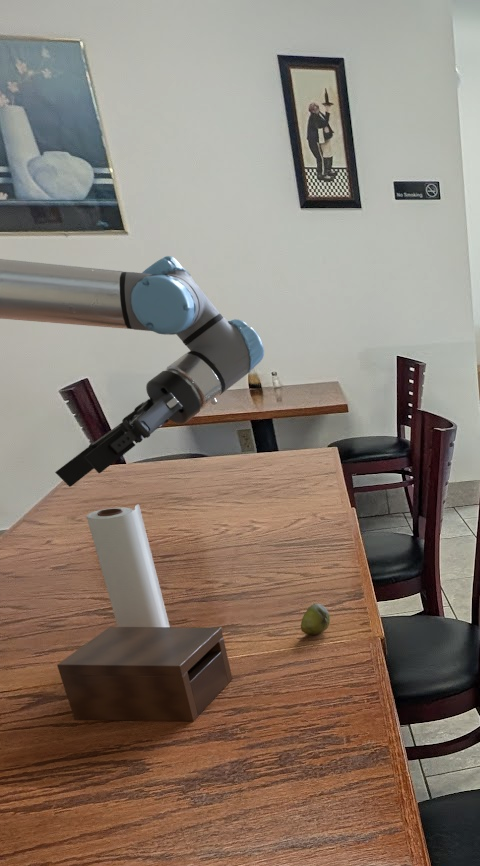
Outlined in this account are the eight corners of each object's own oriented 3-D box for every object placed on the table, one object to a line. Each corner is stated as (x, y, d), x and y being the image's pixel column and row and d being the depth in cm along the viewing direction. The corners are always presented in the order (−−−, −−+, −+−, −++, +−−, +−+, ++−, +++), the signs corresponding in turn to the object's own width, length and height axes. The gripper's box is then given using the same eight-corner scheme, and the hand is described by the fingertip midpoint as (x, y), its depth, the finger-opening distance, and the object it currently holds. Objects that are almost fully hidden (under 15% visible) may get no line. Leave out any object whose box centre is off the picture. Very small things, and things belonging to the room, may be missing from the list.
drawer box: (74, 719, 107) (56, 664, 103) (124, 677, 117) (109, 626, 114) (193, 721, 106) (179, 665, 102) (232, 678, 116) (221, 627, 113)
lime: (302, 641, 128) (297, 611, 126) (304, 628, 132) (299, 600, 130) (331, 638, 129) (326, 608, 126) (332, 626, 133) (328, 597, 131)
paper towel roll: (126, 658, 123) (87, 519, 114) (122, 644, 128) (84, 510, 119) (177, 646, 127) (144, 511, 117) (171, 633, 131) (138, 502, 122)
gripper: (235, 393, 121) (127, 481, 111) (170, 425, 139) (71, 503, 128) (198, 348, 117) (83, 434, 107) (136, 387, 135) (32, 464, 124)
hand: (76, 472), depth 118 cm, fingers open, 13 cm apart
